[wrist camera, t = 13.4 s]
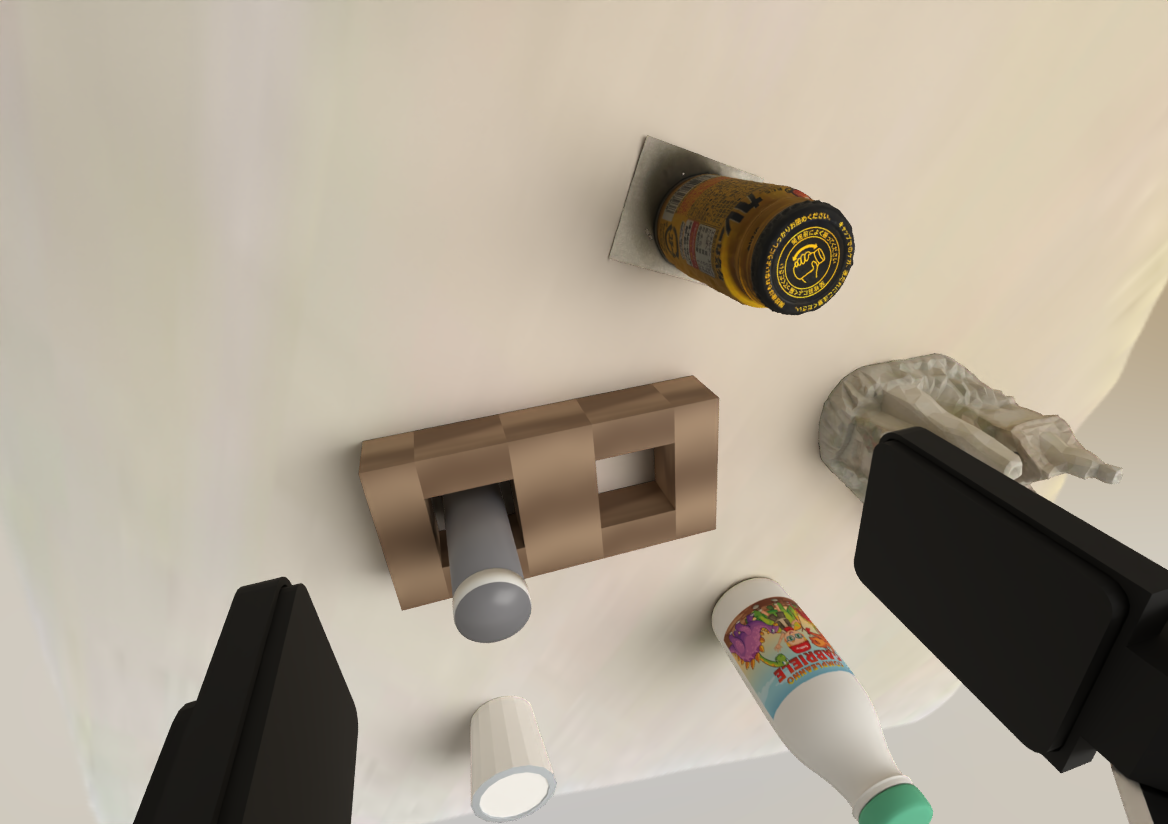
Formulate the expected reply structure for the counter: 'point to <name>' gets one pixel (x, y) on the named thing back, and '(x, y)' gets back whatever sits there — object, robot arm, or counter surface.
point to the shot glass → (508, 761)
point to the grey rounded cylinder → (484, 566)
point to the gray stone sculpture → (947, 423)
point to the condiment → (732, 232)
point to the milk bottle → (814, 701)
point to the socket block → (548, 481)
